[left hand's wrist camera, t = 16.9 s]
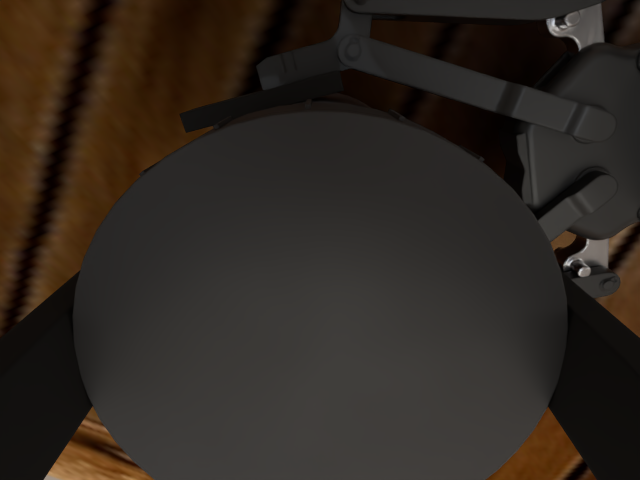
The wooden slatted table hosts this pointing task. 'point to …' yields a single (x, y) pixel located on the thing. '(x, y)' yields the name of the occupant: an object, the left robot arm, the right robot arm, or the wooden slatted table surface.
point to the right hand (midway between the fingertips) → (231, 234)
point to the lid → (320, 305)
